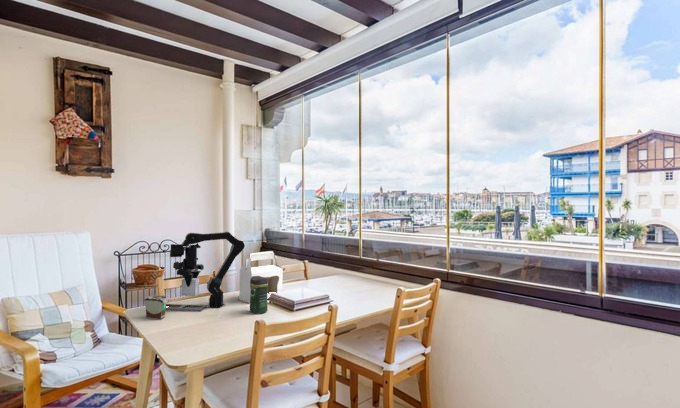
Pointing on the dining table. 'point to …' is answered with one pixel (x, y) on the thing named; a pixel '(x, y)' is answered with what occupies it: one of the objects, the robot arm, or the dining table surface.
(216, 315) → the dining table surface
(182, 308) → the rail
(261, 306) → the coffee jar
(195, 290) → the medicine box
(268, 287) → the gable box
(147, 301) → the food container
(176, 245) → the robot arm
